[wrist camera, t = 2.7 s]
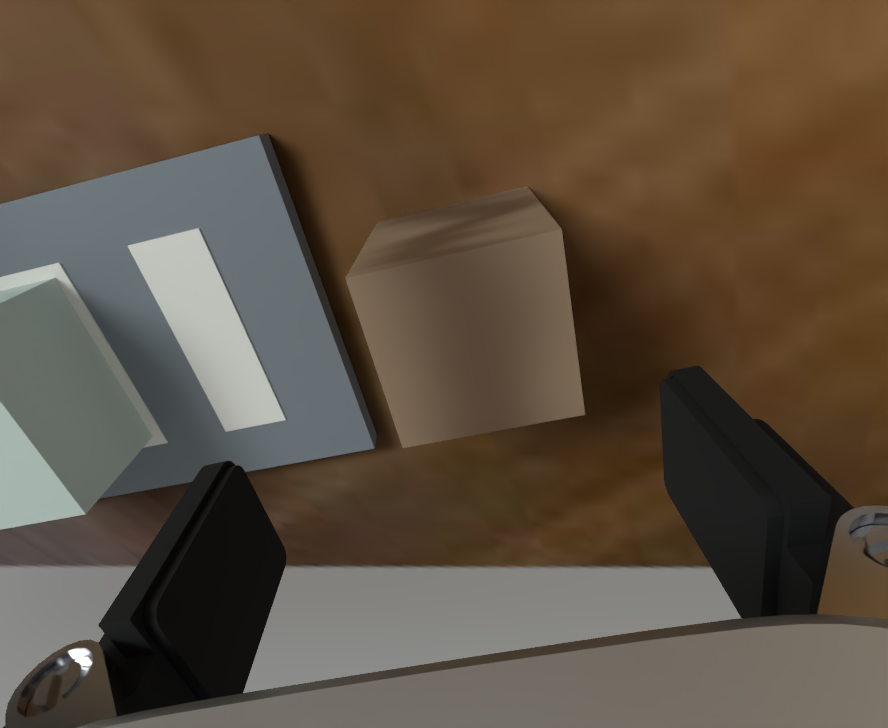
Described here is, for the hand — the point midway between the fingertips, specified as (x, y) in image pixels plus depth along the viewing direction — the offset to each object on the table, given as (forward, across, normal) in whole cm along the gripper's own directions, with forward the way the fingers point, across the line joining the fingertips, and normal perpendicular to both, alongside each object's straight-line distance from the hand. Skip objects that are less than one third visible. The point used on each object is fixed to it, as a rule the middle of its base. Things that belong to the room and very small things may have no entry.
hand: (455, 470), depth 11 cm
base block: (+11, +19, -1) cm, 22 cm away
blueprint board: (+12, +15, -1) cm, 19 cm away
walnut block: (+12, -1, -1) cm, 12 cm away
